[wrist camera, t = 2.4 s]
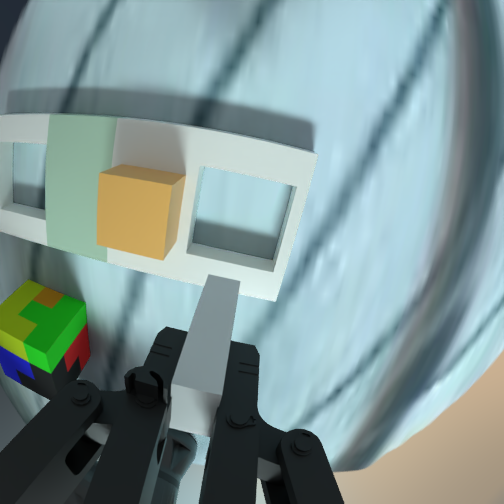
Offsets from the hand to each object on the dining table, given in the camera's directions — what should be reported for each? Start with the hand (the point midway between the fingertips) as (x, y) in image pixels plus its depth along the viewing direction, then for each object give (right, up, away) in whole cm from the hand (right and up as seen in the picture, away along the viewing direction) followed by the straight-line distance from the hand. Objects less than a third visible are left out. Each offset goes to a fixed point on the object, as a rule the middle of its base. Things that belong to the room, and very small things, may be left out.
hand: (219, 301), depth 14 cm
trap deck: (-11, +9, +13) cm, 19 cm away
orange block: (-7, +7, +11) cm, 15 cm away
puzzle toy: (-25, -7, +21) cm, 34 cm away
